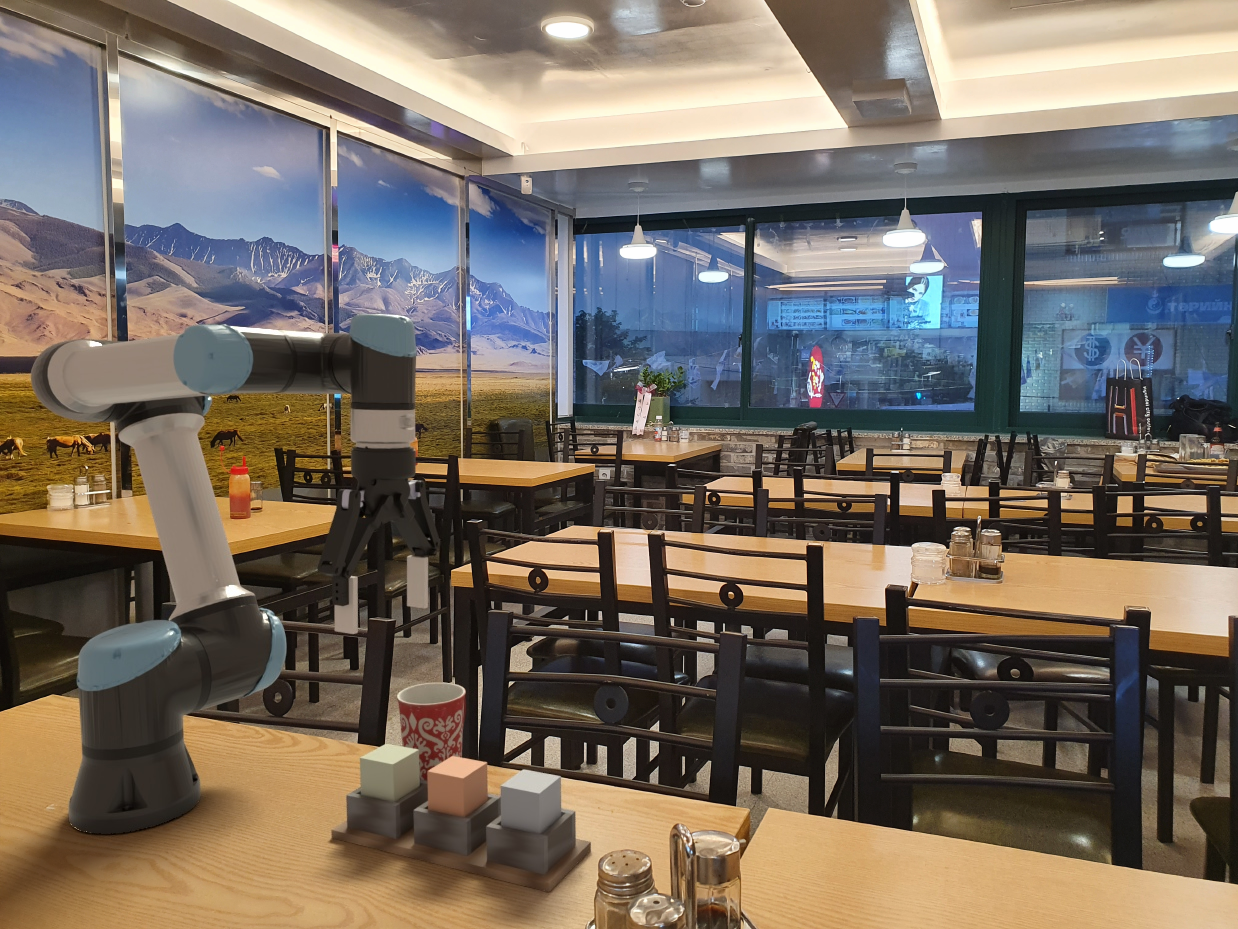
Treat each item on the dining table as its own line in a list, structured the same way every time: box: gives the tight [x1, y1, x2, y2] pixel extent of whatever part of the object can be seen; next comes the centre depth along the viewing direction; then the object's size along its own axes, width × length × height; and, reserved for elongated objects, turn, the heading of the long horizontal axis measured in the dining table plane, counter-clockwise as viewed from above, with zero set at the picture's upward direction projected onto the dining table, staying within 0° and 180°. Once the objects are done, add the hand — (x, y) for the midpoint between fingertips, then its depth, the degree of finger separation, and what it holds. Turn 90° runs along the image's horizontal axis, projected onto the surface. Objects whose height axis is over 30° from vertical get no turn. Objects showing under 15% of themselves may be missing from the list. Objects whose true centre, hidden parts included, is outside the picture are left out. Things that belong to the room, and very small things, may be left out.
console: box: [330, 779, 592, 893], centre depth 108 cm, size 30×10×5 cm, turn 65°
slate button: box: [499, 769, 562, 834], centre depth 103 cm, size 5×5×6 cm
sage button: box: [359, 743, 420, 802], centre depth 112 cm, size 5×5×6 cm
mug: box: [396, 682, 467, 781], centre depth 124 cm, size 13×9×14 cm
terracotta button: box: [427, 756, 489, 818], centre depth 107 cm, size 5×5×6 cm
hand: (383, 619), depth 111 cm, fingers open, 13 cm apart
